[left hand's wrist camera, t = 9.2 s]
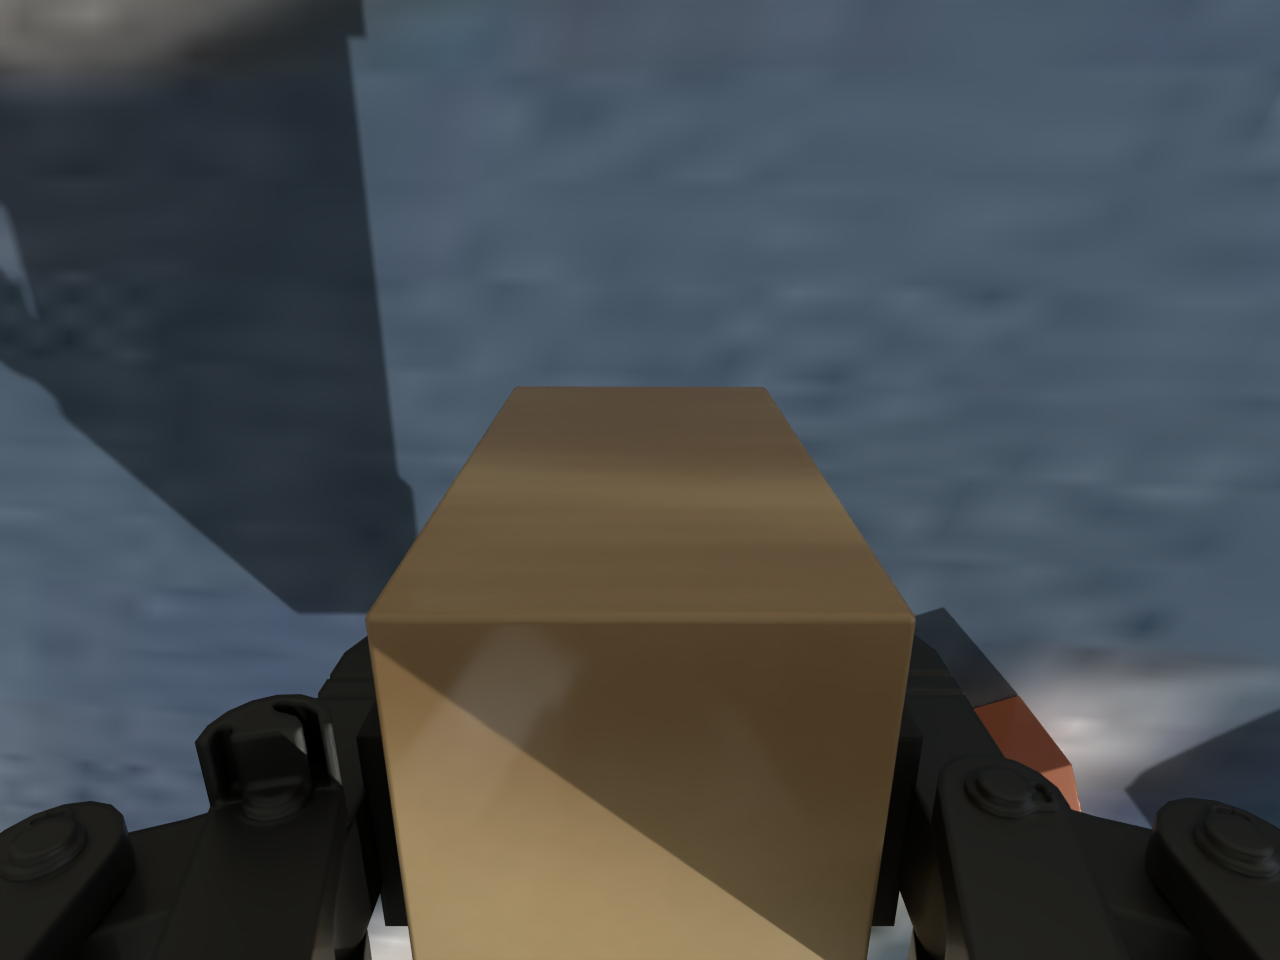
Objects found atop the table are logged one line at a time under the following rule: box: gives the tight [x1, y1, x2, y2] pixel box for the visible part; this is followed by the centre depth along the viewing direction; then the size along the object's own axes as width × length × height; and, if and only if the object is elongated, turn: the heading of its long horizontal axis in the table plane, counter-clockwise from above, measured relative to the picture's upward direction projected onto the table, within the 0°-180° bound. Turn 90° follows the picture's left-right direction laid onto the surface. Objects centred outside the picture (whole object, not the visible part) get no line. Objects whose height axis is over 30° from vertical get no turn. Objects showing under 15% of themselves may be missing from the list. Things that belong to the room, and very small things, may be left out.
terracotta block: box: [974, 696, 1081, 812], centre depth 30 cm, size 4×4×4 cm
